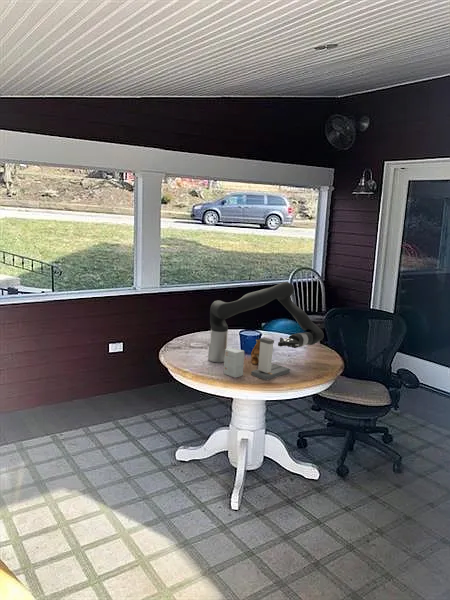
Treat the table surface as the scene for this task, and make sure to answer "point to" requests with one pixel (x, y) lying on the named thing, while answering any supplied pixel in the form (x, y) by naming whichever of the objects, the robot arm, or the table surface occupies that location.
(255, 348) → the stuffed squirrel
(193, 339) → the table surface
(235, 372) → the small box
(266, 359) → the grey tall block
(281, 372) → the fader panel
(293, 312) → the robot arm
